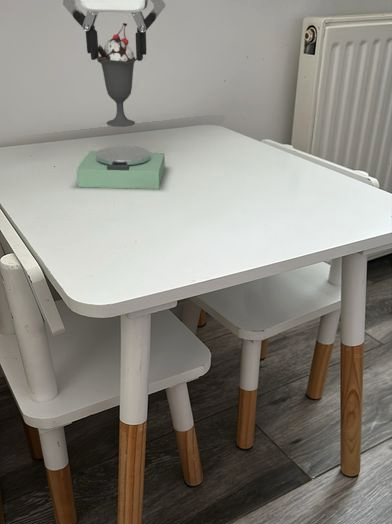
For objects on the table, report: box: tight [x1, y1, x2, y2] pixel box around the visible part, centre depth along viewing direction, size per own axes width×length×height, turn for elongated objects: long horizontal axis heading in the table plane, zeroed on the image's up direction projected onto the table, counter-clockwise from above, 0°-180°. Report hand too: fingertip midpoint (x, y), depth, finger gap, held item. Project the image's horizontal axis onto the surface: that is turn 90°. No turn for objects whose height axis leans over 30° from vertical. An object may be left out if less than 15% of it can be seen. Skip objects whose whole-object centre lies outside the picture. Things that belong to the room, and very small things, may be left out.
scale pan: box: [96, 145, 150, 165], centre depth 99 cm, size 10×10×1 cm
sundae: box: [96, 22, 138, 128], centre depth 92 cm, size 7×7×15 cm
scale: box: [76, 150, 166, 190], centre depth 100 cm, size 14×12×4 cm
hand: (117, 58), depth 91 cm, fingers closed on sundae, 6 cm apart
